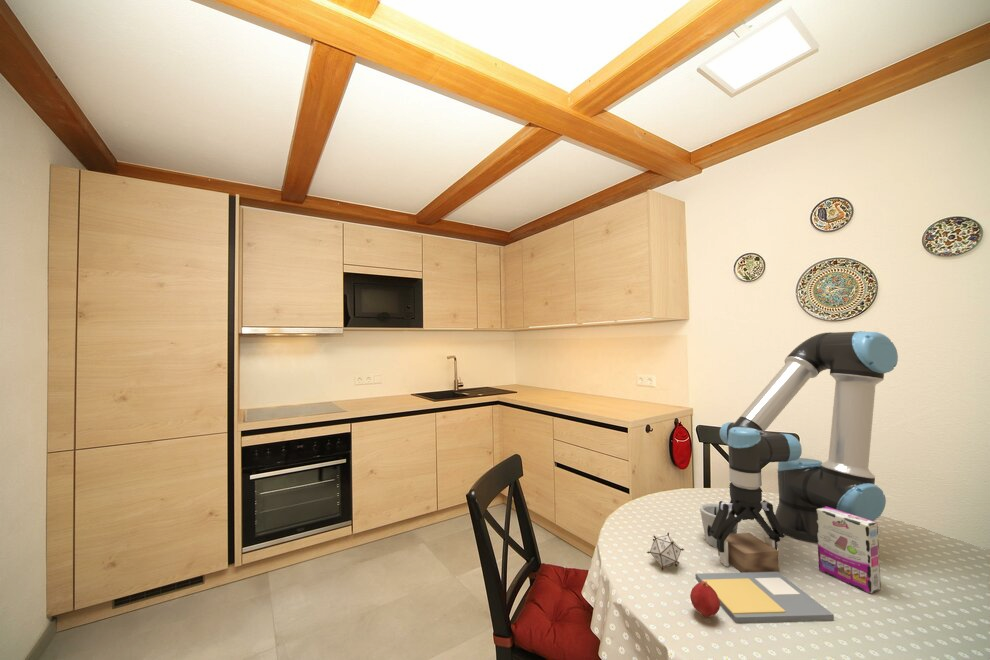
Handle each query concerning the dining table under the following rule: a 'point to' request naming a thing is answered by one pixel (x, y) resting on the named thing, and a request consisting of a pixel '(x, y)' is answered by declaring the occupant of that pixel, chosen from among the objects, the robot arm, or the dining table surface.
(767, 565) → the walnut slab
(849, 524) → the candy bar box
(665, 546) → the game die
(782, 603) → the board
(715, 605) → the red oval piece
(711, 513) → the mug
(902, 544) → the dining table surface
